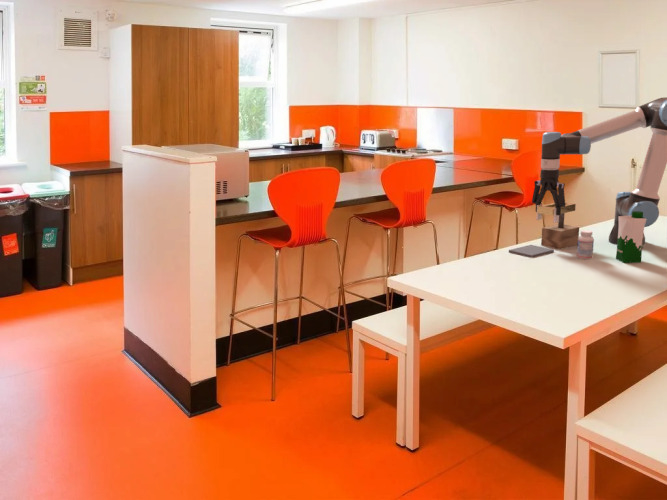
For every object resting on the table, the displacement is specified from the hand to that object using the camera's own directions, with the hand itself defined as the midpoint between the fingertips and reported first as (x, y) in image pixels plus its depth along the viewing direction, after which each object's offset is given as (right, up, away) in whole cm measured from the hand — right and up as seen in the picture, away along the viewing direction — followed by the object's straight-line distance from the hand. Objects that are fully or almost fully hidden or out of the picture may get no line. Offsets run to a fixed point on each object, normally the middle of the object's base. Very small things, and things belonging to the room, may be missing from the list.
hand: (547, 220), depth 291 cm
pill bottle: (+11, -16, -13) cm, 24 cm away
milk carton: (+27, -17, -19) cm, 37 cm away
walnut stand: (+8, -10, +9) cm, 16 cm away
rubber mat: (-8, -14, -2) cm, 16 cm away
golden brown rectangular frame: (+5, +4, +3) cm, 7 cm away
